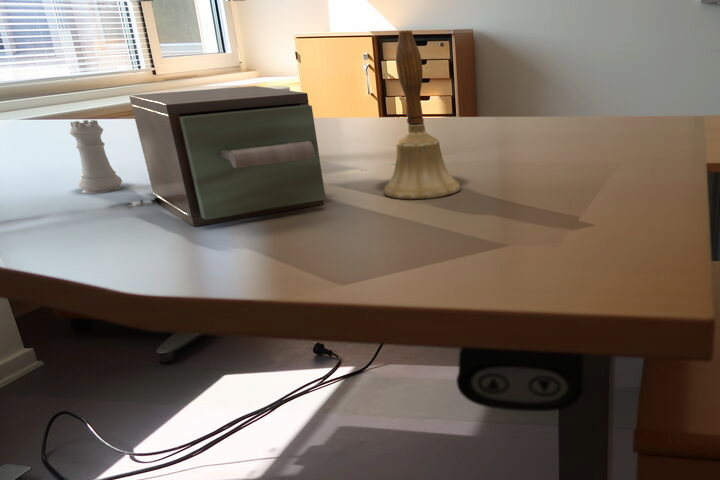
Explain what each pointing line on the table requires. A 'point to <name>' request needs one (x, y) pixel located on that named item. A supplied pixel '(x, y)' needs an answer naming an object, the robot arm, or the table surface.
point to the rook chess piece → (93, 159)
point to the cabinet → (169, 149)
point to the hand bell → (416, 137)
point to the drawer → (253, 159)
